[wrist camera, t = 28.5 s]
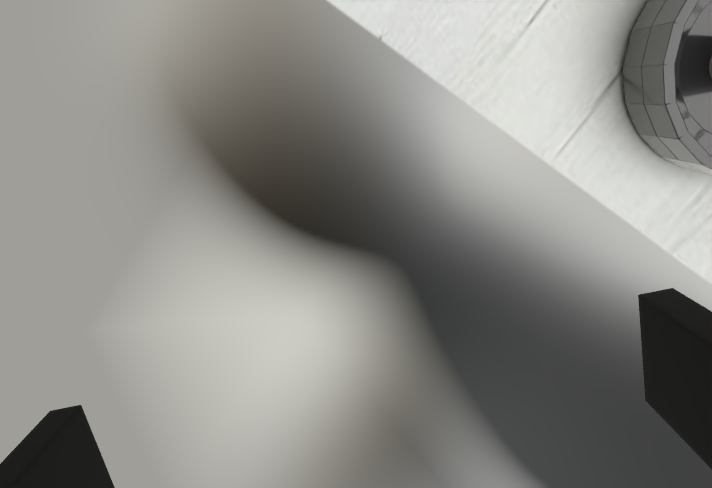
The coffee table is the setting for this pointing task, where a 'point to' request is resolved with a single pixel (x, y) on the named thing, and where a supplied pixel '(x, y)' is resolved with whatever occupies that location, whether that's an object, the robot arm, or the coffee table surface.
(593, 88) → the coffee table surface
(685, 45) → the bowl
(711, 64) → the smoothie
